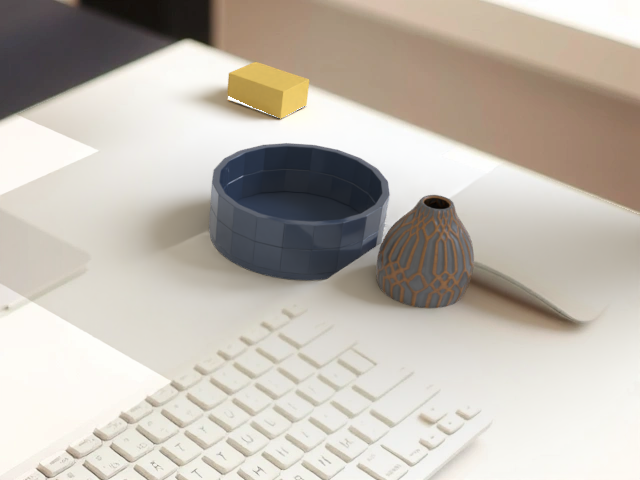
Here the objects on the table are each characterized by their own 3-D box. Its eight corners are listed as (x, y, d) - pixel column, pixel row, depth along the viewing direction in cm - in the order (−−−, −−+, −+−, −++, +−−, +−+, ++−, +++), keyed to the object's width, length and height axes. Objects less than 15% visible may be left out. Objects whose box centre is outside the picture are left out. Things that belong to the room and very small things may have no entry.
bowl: (277, 179, 99) (282, 128, 96) (412, 234, 91) (422, 180, 88) (174, 235, 90) (176, 181, 87) (313, 301, 82) (321, 244, 79)
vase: (426, 341, 78) (448, 236, 73) (352, 301, 82) (368, 199, 77) (481, 307, 82) (506, 204, 77) (407, 270, 86) (426, 171, 81)
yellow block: (253, 88, 116) (255, 61, 114) (306, 107, 112) (309, 79, 110) (226, 100, 113) (228, 72, 111) (280, 119, 109) (283, 91, 107)
